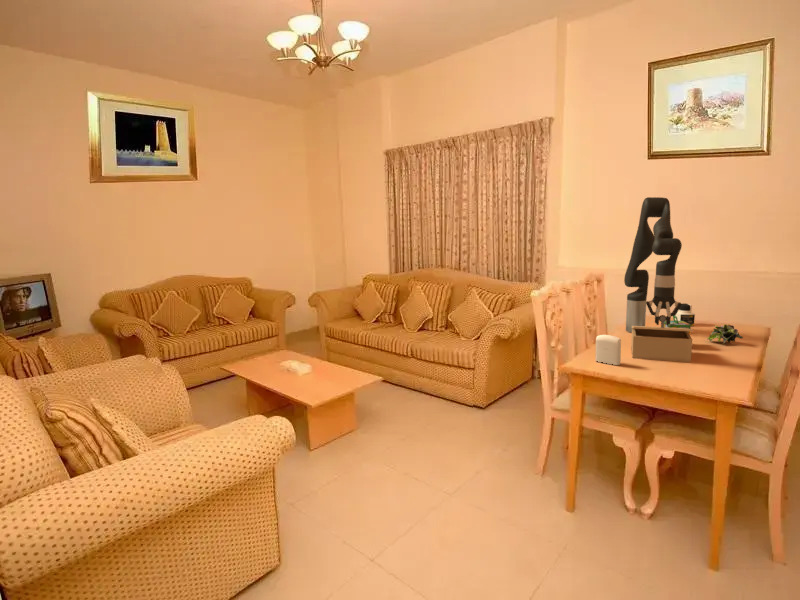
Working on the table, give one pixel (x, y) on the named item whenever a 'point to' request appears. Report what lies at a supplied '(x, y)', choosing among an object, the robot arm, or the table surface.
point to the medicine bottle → (686, 314)
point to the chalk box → (678, 324)
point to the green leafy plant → (725, 333)
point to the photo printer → (608, 349)
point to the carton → (661, 345)
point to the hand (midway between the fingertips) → (662, 324)
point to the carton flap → (662, 326)
